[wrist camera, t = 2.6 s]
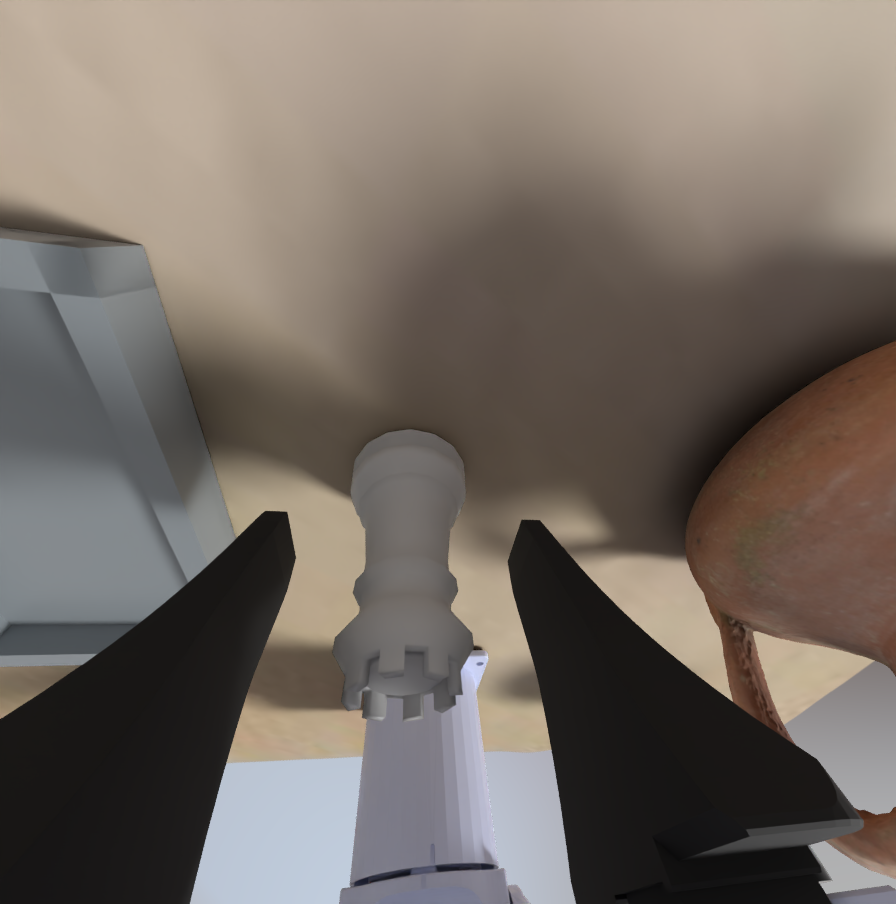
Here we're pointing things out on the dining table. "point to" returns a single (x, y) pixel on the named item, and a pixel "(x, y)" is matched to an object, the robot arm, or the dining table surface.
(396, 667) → the rook chess piece
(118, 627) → the tray
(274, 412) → the dining table surface
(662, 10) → the dining table surface
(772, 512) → the ceramic jug
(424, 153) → the dining table surface
